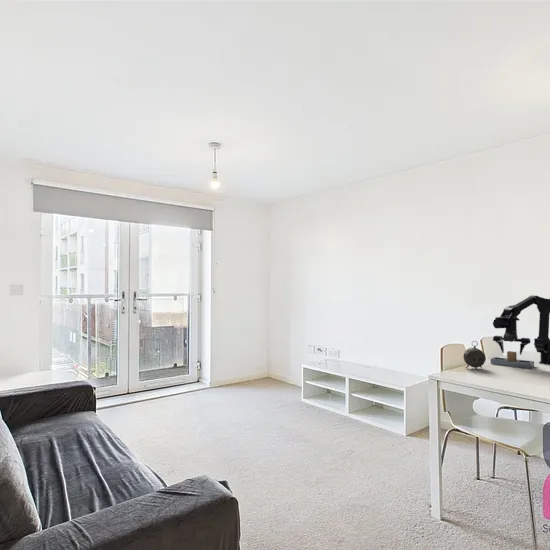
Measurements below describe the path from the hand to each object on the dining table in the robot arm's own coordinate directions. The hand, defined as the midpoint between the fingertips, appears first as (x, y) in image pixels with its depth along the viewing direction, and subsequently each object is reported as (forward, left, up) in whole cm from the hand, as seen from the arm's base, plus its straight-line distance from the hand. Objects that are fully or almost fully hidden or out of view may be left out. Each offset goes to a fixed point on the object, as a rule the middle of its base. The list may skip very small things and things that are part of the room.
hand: (511, 353), depth 234 cm
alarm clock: (+26, -13, -7) cm, 30 cm away
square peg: (0, 0, -7) cm, 7 cm away
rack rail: (0, 0, -7) cm, 7 cm away
